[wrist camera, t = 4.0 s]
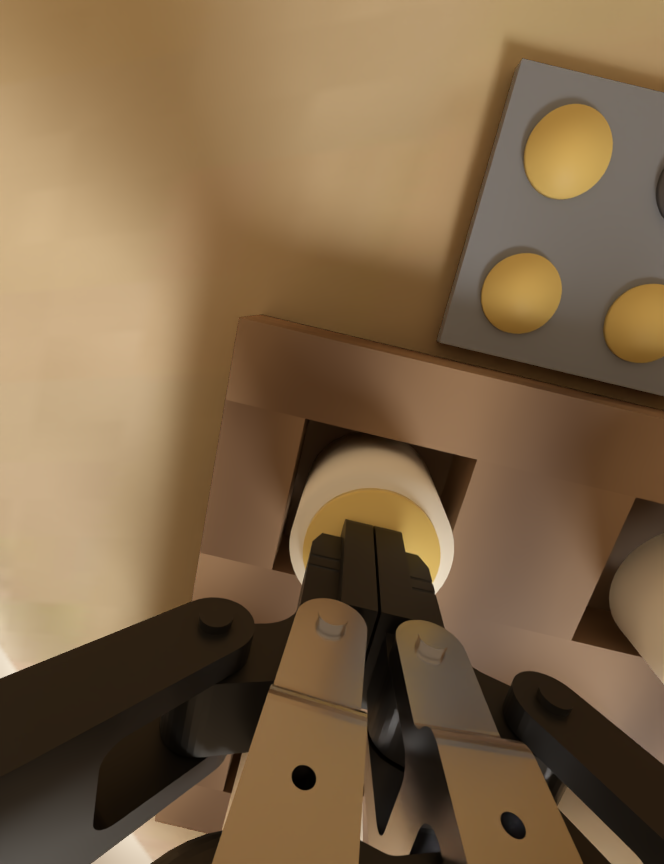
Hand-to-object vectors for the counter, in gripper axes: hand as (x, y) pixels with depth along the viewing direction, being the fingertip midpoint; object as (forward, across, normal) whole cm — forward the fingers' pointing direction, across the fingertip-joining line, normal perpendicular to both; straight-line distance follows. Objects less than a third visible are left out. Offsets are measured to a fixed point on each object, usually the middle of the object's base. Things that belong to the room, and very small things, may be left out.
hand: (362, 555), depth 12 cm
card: (+5, -5, -10) cm, 12 cm away
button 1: (+4, 0, 0) cm, 4 cm away
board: (+5, -5, +5) cm, 9 cm away
